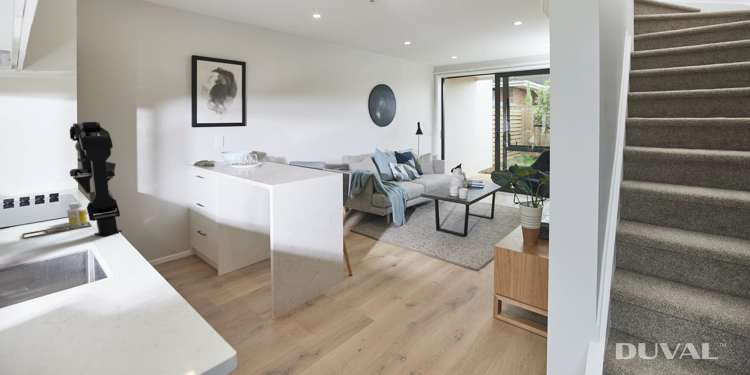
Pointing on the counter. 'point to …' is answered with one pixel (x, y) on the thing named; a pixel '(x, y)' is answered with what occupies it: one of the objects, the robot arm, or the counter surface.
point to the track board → (55, 230)
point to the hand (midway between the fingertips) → (96, 194)
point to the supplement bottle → (77, 215)
